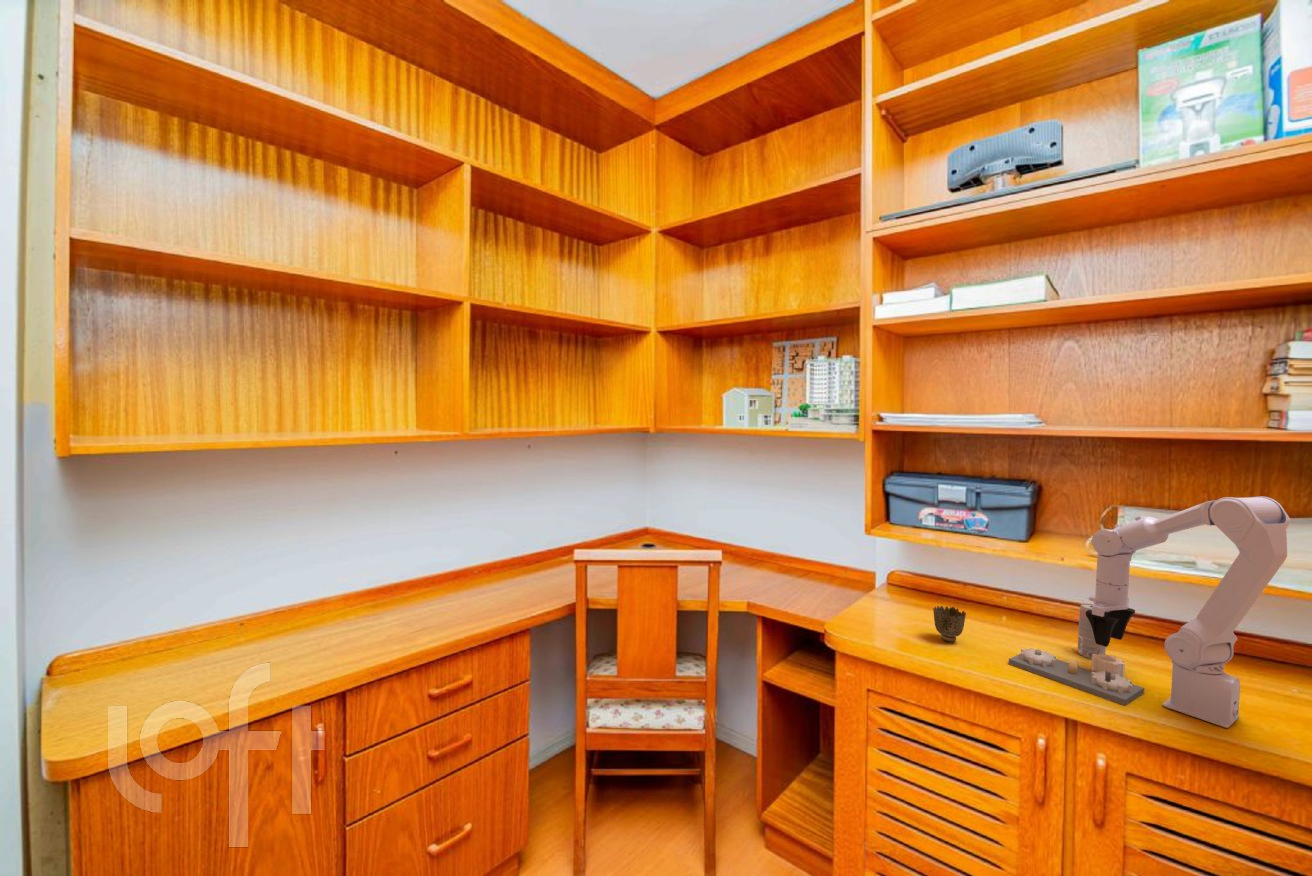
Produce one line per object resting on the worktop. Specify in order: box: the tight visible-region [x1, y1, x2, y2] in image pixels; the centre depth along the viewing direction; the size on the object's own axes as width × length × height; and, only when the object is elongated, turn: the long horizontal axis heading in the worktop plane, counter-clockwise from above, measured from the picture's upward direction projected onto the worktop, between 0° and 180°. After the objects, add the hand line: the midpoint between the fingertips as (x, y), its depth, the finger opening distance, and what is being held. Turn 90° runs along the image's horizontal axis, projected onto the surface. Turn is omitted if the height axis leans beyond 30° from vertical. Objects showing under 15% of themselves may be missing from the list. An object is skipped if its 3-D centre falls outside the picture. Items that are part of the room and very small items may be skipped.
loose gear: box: [1090, 654, 1126, 678], centre depth 128 cm, size 6×6×3 cm
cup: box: [932, 605, 967, 644], centre depth 144 cm, size 8×7×8 cm
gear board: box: [1007, 647, 1145, 706], centre depth 125 cm, size 22×10×4 cm, turn 32°
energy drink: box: [1077, 603, 1107, 660], centre depth 137 cm, size 5×5×12 cm
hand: (1108, 641), depth 127 cm, fingers open, 7 cm apart
